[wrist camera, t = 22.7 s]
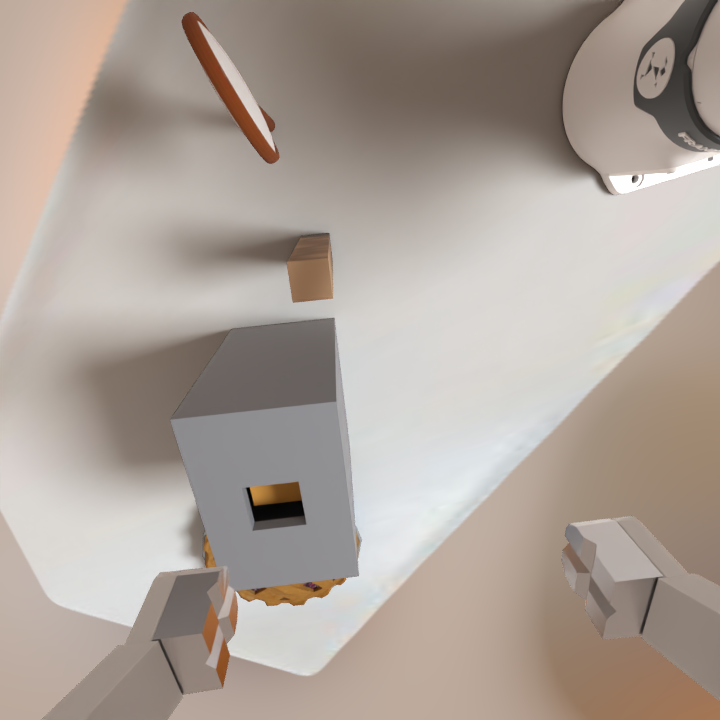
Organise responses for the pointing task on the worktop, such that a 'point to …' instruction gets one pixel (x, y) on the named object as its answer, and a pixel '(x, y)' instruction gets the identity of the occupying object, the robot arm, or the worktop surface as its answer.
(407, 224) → the worktop surface
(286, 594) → the pie
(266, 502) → the button
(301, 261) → the long brown rectangular block
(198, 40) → the magnifying glass
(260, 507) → the grey tissue box
